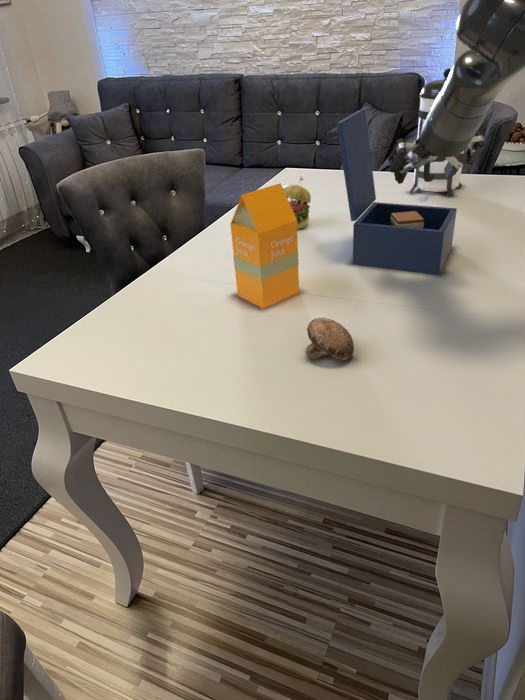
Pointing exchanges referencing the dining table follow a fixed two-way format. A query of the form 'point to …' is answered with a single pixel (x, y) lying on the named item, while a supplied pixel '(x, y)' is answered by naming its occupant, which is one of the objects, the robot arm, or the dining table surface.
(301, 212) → the hamburger
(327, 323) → the mushroom
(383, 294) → the dining table surface
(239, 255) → the orange juice
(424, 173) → the coffee press
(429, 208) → the dark blue open box
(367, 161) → the navy box lid
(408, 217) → the carton
